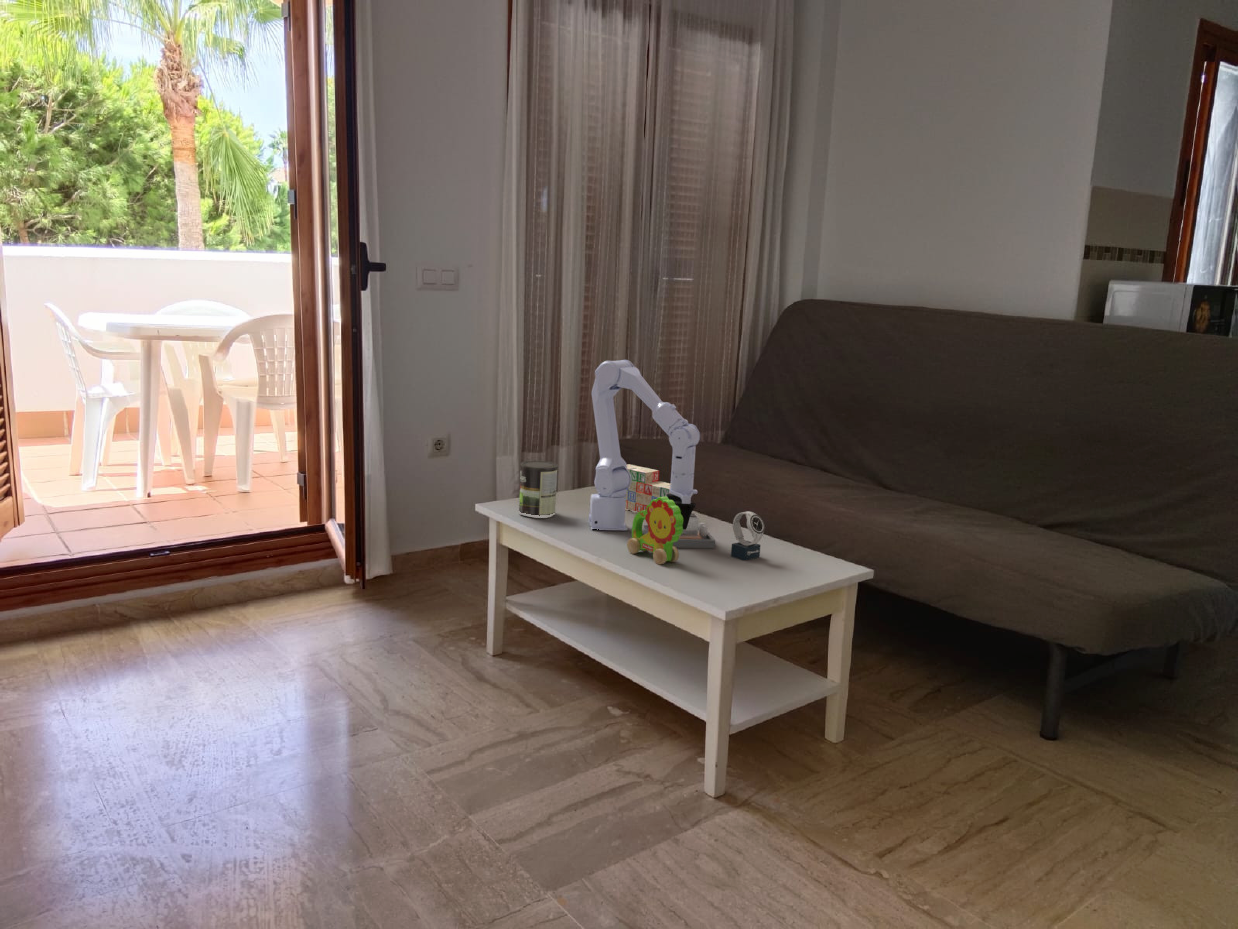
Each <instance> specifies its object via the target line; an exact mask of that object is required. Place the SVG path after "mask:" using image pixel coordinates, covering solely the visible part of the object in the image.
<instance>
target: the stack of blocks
mask: <svg viewBox="0 0 1238 929" xmlns="http://www.w3.org/2000/svg"><path fill="white" fill-rule="evenodd" d="M626 465H627V469H628V471H629V473H630V475H631V479H632V480H631V485H630V486H629V488H628V489H627V491H626V504H625V508H626V509H629V510H633V511H637V512H640V511H643V510H646V508H647V506H648V505H649V504H650V502H651V501H652V500H653V499H657V498H658V497H667V495H666V494H671V493H669V489H670V485H671V482H670V483H669V482H665V481H660V470H657V469H654V468H653V469H652V468H649V467H643V466H638V465H635V464H626Z"/></svg>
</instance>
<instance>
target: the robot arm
mask: <svg viewBox="0 0 1238 929" xmlns="http://www.w3.org/2000/svg"><path fill="white" fill-rule="evenodd" d="M594 378H595V379H594V381H593V385H592V389H591V398H592V399H591V400H592V406H593V408H592V409H593V414H594V420H595V421H594V422H595V429H596V437H597V445H598V452H599V453H598V454H599V461H598V463H597V465H596V466H595V476H594V482H593V483H594V488H595V489H596V492H597V493H593V494H590V501H589V514H588V524H589V527H590V526H591V527H590V529H591V530H592V529H597V530H596V531H628V527H627V526H626V524H625V521H626V517H625V516H626V510H625V504H626V491H627V489H628V488H629V486H630V485H631V480H632V479H631V475H630V473H629V471H628V469H627V465H628V464H627V462H626V461H625V460H624V458H623V457H622V455H621V448H620V441H619V440H620V439H619V433H618V432H619V431H618V426H617V425H618V424H617V417H616V409H615V402H614V398H615V395H617V394H618V392H619V391H620V390H621V389H622V388H623V389H626V390H627V389H628V390H631V391H632V392H633V393H634V394H635V395H636V396H637V397H638V398H639V399H640V400H641V401H642V402H643V403H644V404H645V405H646V406H647V407H648V408H649V409H650V410H651V412H652V416H651V417H652V419H653V420H654V421H655V423H657V425H658V426H659V428H661V429H662V430H663V431H664V433H665V434H666V435H667V436H668V441H669V445H670V446H671V448H672V454H671V455H672V456H671V472H670V484H671V485H670V489H669V493H671V494H666V495H667V497H668V498H669V500H673V501H674V502H675V504H676V506H678V507H679V508H680V511H681V515H682V516H683V525H682V527H683V530H686V528H687V526H688V522H689V519H690V516H691V514H693V513H692V512H693V511H694V509H695V508H696V506H697V505H696V502H692V501H691V499H692V496H693V495H697V494H698V490H697V489H694V478H695V462H696V448H697V447H696V446H697V445H698V444H699V442H700V439H701V432H700V431H699V429H698V427H697V425H695V424H692V423H689V421H688V419H686V418H684V417H683V416H682V415H681V414H680V413H679V412H678V410H677V406H676V405H675V404H674V403H673V404H671V402H667V401H666V402H664V401H663V400H661V398H660V397H659V396H658V394H657V392H655V390H653V388H652V387H651V385H649V383H648V382H647V381H646V380H645V378H644V377H643V375H642V374H641V371H640V369H639V368H637V367H636V366H635V365H634V363H632V362H631V361H630V360H628V359H621V360H605V361H603V362H601V363H600V364H599V365H598V367H597V368H596V369H595V370H594ZM598 529H599V530H598Z"/></svg>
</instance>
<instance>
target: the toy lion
mask: <svg viewBox="0 0 1238 929" xmlns="http://www.w3.org/2000/svg"><path fill="white" fill-rule="evenodd" d="M644 521H645V522H646V524H647V525H648V533H647V534H645V535H644V533H643V526H644V524H643V523H644ZM631 525H632V526H631V527H632V528H631V538H629V539H628V540H627V543H626V547H627V550H628V552H629V554H632V555H633V554H638V553H639V552H640V551H641V552H645V553H646V552H651V553H653V554H652V559H653V561H654V562H655V564H657V565H659V566H660V565H664V564H666V562H669V563H674V562H677V561H678V560H679V558H680V555H679V554H680V553H679V550H678V548H676V547H674V546H673V542H677V541H678V539H679V536H680V535H681V534H682V532H683V527H682V525H683V516H682V515H681V511H680V508H679V507H678V506H676V504H675V502H674V501H673V500H669V498H668V497H658V498H657V499H653V500H652V501H651V502H650V504H649V505H648V506H647V508H646V510H643V511H640V512H638V513H635V515H634V518H633V521H632V524H631Z"/></svg>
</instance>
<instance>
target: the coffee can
mask: <svg viewBox="0 0 1238 929" xmlns="http://www.w3.org/2000/svg"><path fill="white" fill-rule="evenodd" d="M519 467H520V473H519V476H520V478H519V501H518V502H519V504H518V505H519V506H518V512H519V511H520V512H521V513H526V514H531V515H539V516H540V515H550V514H553V513H555V514H556V505H557V504H556V501H557V483H558V482H557V481H558V479H557V478H558V469H559V468H558V467H559V464H558V463H556V462H552V461H544V460H528V461H522V462H520V463H519Z"/></svg>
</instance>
